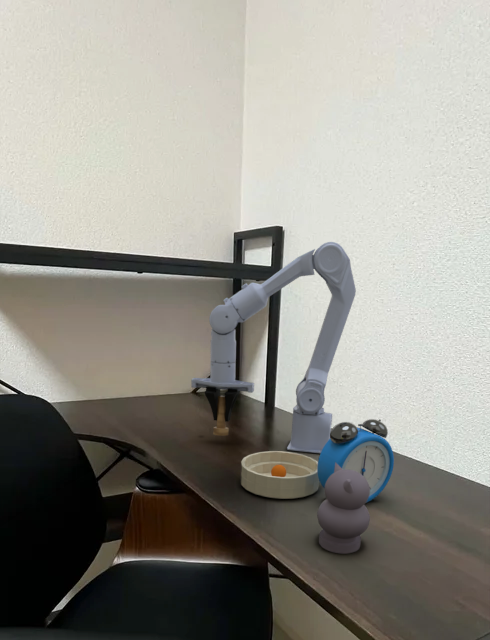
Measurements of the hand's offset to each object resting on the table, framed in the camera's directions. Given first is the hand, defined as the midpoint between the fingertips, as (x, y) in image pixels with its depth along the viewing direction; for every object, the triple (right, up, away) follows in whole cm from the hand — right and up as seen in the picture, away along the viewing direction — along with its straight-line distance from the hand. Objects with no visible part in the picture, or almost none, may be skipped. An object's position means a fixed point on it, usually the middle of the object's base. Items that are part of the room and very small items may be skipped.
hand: (222, 420), depth 123 cm
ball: (+13, -14, -21) cm, 28 cm away
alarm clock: (+26, -19, -27) cm, 42 cm away
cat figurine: (+21, -26, -43) cm, 54 cm away
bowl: (+13, -16, -22) cm, 30 cm away
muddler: (0, -3, +1) cm, 3 cm away
